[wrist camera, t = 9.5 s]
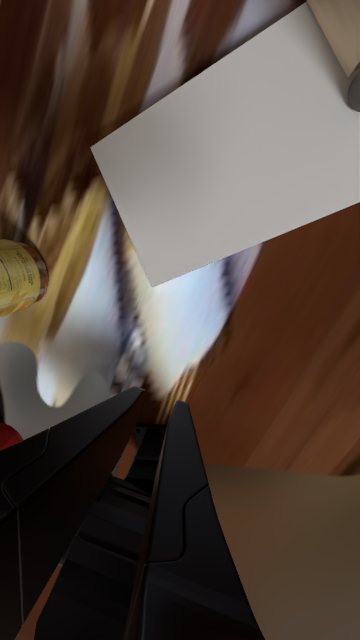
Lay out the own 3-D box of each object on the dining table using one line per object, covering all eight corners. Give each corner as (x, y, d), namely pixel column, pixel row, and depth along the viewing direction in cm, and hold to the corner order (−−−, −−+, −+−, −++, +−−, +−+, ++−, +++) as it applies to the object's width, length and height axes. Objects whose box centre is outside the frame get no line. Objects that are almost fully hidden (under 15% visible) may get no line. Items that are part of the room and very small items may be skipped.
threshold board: (405, -52, 13) (418, -74, 12) (441, 167, 15) (454, 162, 14) (97, 152, 19) (90, 147, 18) (155, 285, 21) (152, 287, 20)
